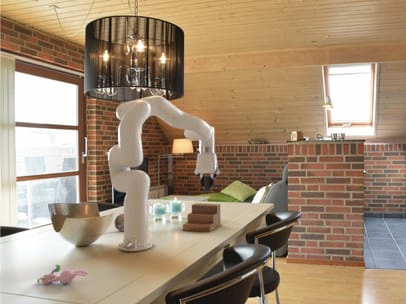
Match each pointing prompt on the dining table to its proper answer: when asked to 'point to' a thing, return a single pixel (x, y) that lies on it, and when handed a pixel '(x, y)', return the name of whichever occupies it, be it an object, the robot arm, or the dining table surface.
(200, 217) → the step rack
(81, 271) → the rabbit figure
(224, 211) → the dining table surface
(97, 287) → the dining table surface
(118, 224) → the tin
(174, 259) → the dining table surface
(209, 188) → the cylinder
